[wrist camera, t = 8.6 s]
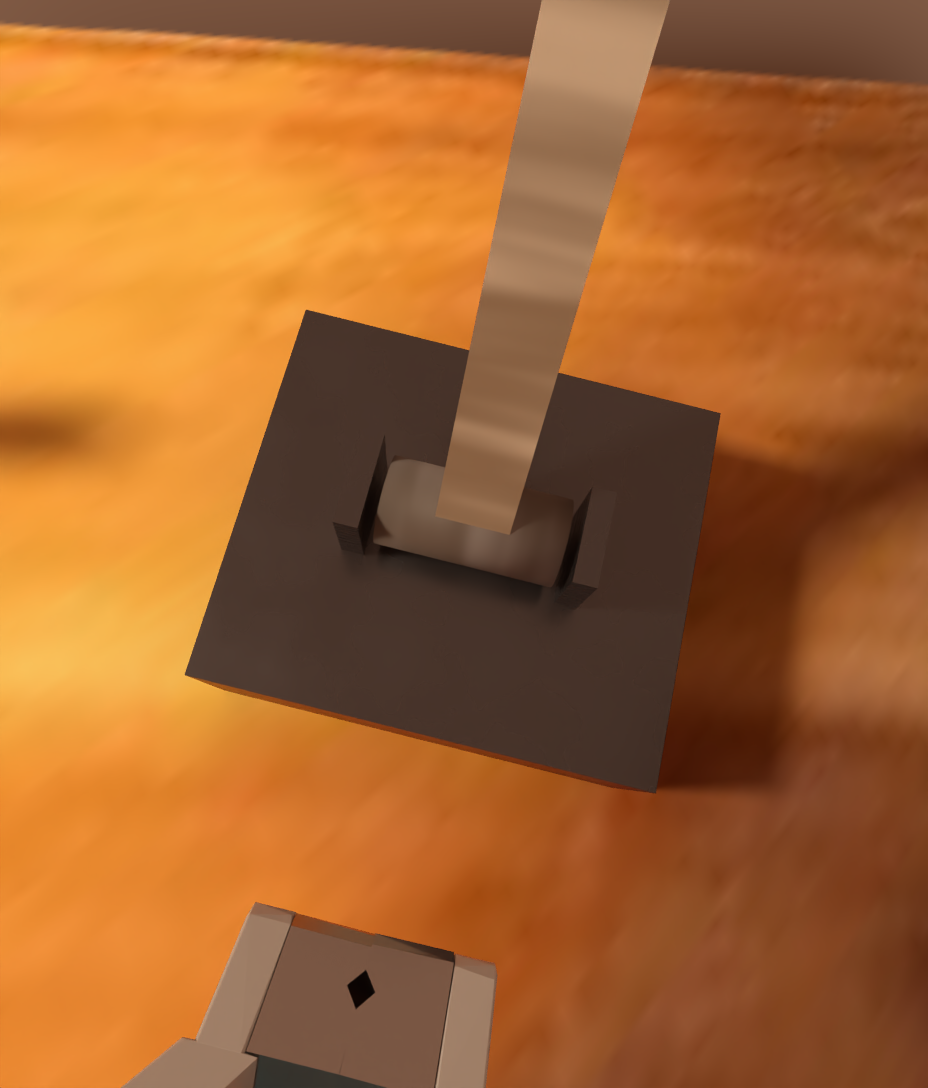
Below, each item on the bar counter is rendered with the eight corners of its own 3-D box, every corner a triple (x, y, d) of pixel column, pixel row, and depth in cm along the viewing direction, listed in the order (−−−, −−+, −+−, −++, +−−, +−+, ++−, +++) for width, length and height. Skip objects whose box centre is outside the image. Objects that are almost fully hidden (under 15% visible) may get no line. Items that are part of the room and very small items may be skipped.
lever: (544, 616, 27) (922, -387, 12) (365, 572, 27) (509, -489, 12) (555, 535, 30) (869, -353, 14) (393, 495, 30) (538, -434, 14)
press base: (612, 787, 33) (689, 797, 24) (224, 690, 33) (153, 663, 24) (671, 468, 36) (757, 372, 27) (322, 381, 37) (293, 255, 27)
